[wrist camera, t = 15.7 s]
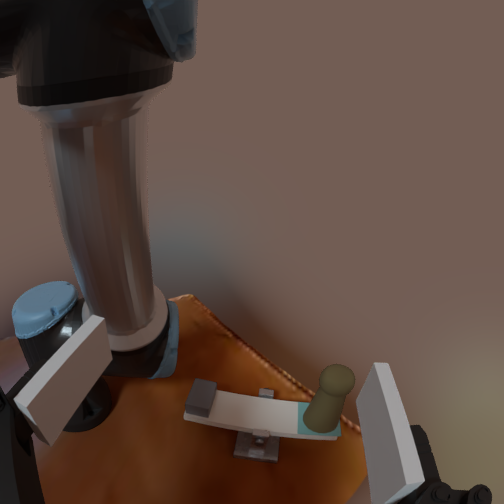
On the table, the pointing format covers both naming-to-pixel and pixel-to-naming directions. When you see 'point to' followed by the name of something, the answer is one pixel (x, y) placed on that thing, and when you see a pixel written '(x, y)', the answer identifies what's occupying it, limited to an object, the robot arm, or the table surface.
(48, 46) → the robot arm
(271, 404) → the beam
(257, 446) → the stand
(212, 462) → the table surface
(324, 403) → the cork
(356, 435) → the table surface
